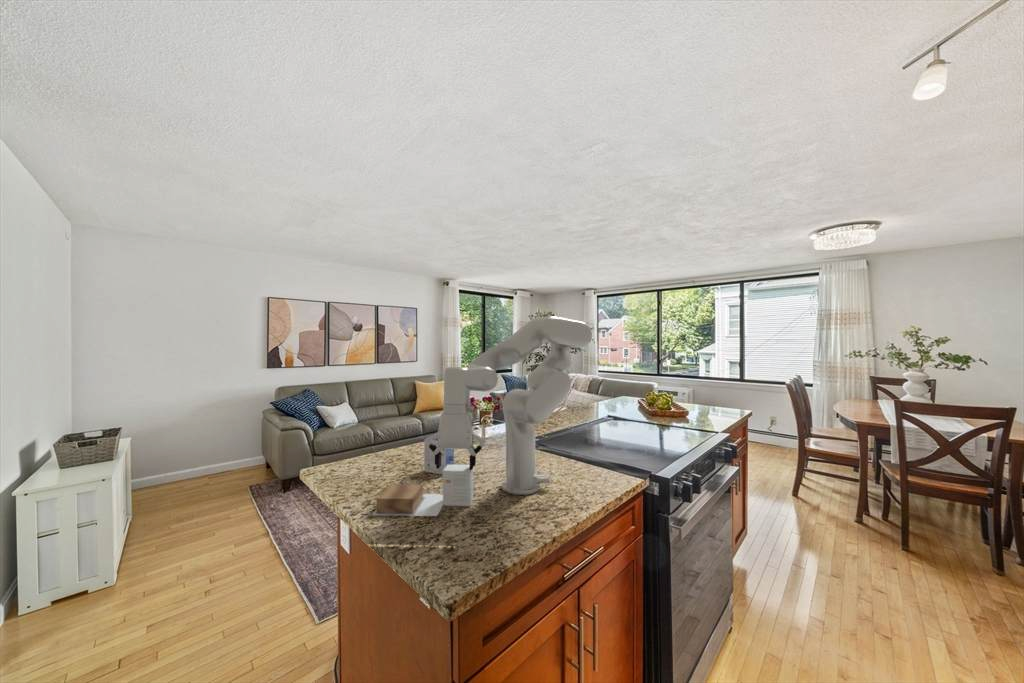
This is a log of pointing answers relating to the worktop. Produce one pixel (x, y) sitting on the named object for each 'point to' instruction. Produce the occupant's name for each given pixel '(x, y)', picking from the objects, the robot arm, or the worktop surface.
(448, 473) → the small box
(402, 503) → the base slab
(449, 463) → the ink cartridge box
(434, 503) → the white rectangular board
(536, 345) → the robot arm
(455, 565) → the worktop surface
